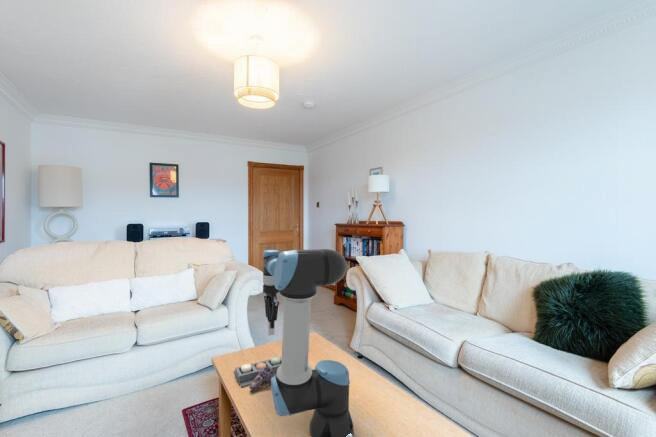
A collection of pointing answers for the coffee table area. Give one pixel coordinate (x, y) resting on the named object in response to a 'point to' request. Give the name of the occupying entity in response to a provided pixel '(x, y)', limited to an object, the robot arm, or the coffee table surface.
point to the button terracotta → (260, 366)
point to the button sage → (275, 361)
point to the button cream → (245, 368)
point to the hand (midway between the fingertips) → (271, 334)
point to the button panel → (253, 373)
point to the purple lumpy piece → (262, 379)
